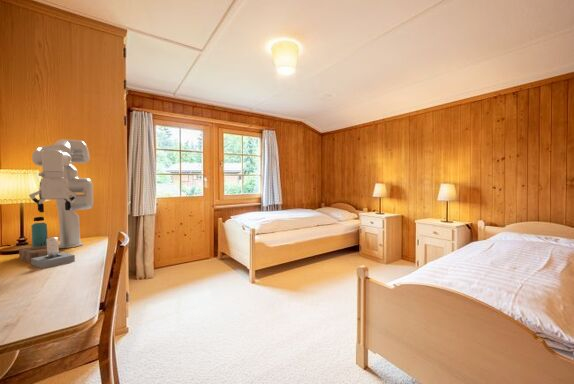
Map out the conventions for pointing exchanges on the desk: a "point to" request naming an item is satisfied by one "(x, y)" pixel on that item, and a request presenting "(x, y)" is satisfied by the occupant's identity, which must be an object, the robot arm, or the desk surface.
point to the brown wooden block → (32, 252)
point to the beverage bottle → (39, 232)
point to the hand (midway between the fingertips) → (55, 211)
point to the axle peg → (52, 247)
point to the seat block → (52, 260)
